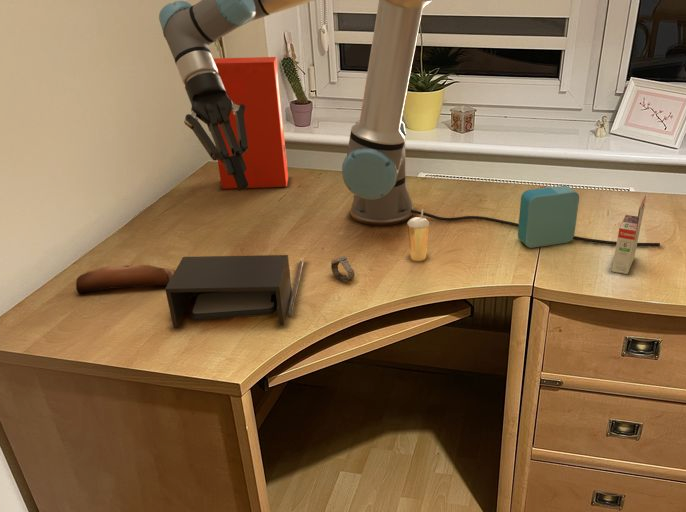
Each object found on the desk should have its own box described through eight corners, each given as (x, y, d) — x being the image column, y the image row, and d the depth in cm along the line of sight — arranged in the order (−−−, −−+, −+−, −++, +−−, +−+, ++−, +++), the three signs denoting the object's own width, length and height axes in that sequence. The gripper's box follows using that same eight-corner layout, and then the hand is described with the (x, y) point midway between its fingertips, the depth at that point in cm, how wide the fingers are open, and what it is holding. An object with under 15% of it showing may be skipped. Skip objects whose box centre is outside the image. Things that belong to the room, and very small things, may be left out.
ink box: (610, 272, 146) (621, 205, 138) (617, 256, 152) (628, 192, 145) (628, 275, 145) (641, 207, 137) (634, 259, 151) (647, 194, 143)
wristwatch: (340, 272, 148) (339, 250, 145) (358, 282, 144) (357, 259, 141) (327, 277, 146) (325, 255, 143) (345, 287, 142) (343, 265, 139)
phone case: (190, 322, 131) (276, 316, 132) (188, 315, 130) (275, 308, 131) (197, 300, 139) (279, 294, 140) (196, 292, 138) (278, 287, 139)
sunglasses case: (175, 268, 149) (168, 250, 143) (175, 296, 146) (167, 279, 140) (86, 275, 146) (75, 257, 140) (84, 304, 143) (73, 287, 137)
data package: (564, 234, 163) (570, 184, 156) (573, 242, 159) (580, 191, 153) (516, 241, 160) (521, 190, 153) (525, 249, 156) (530, 197, 150)
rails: (303, 263, 151) (303, 260, 151) (291, 317, 132) (291, 314, 132) (199, 265, 151) (199, 262, 151) (172, 319, 132) (171, 316, 131)
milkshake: (432, 253, 155) (433, 210, 149) (424, 263, 151) (425, 219, 145) (412, 250, 156) (412, 208, 151) (404, 260, 152) (404, 217, 146)
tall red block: (226, 179, 197) (208, 57, 180) (288, 177, 198) (276, 56, 181) (222, 189, 190) (202, 64, 173) (286, 187, 191) (273, 62, 174)
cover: (291, 291, 140) (287, 254, 136) (283, 325, 129) (279, 286, 125) (190, 293, 140) (183, 256, 136) (173, 327, 129) (165, 288, 124)
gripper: (228, 84, 150) (268, 187, 150) (168, 94, 144) (210, 201, 144) (235, 65, 143) (277, 173, 143) (172, 76, 138) (216, 188, 138)
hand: (243, 187), depth 144 cm, fingers closed
